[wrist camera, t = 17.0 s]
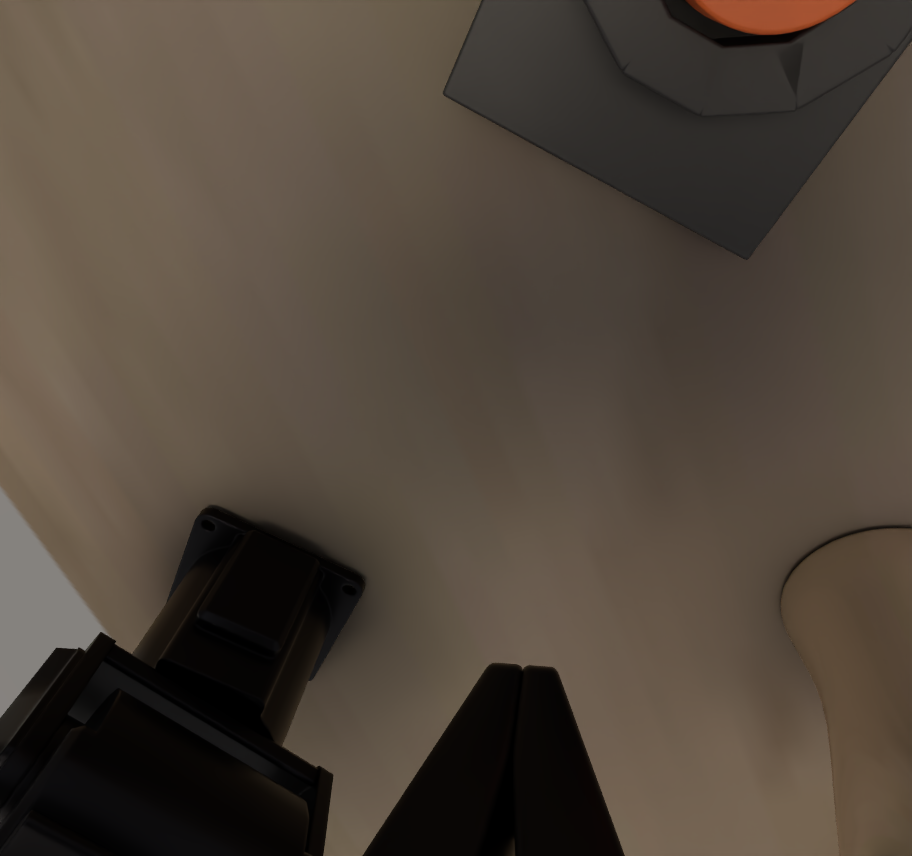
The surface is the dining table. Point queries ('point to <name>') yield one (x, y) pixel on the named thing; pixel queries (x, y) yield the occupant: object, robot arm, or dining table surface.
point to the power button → (769, 13)
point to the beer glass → (861, 679)
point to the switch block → (678, 99)
